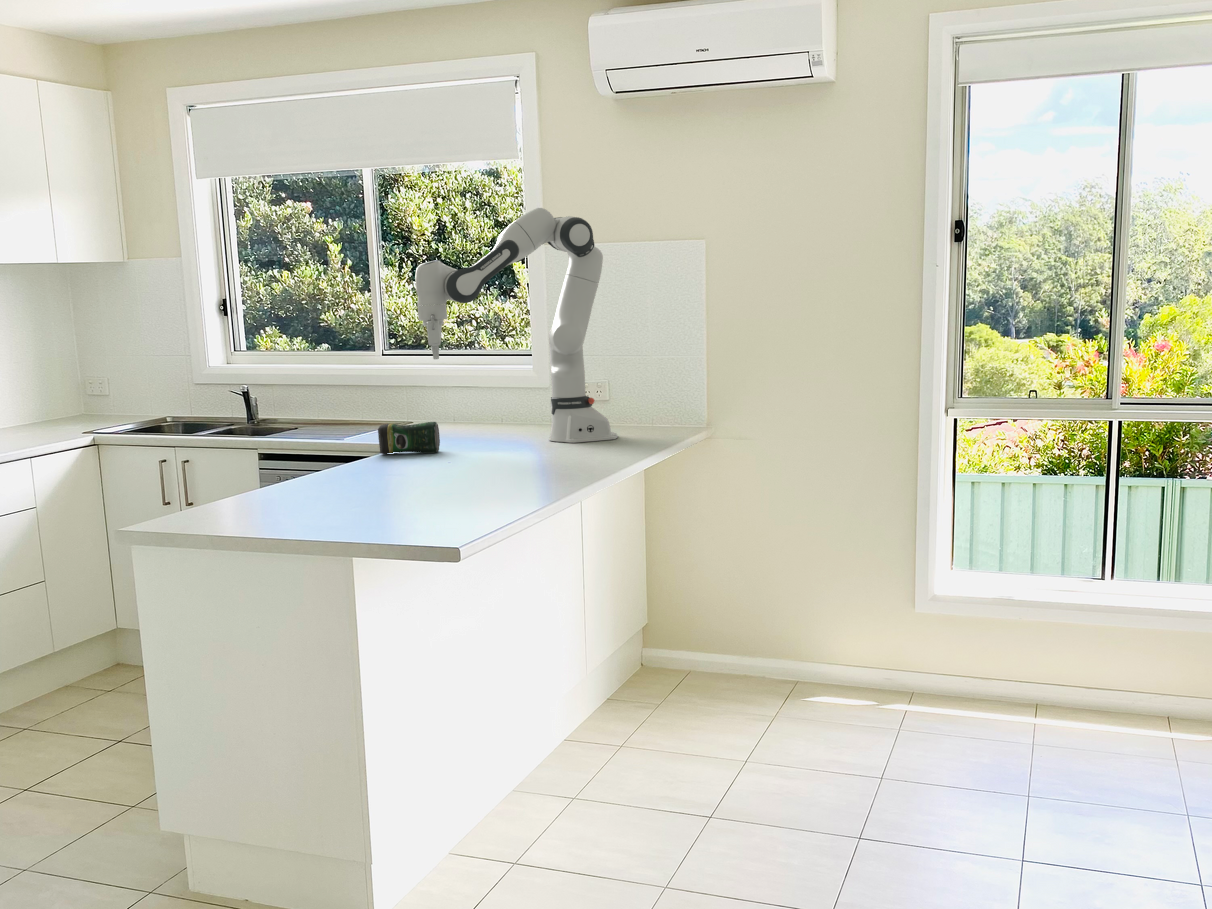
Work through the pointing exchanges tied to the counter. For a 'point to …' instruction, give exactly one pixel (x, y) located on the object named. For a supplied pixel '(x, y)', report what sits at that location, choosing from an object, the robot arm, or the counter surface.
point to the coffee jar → (409, 438)
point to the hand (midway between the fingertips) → (436, 359)
